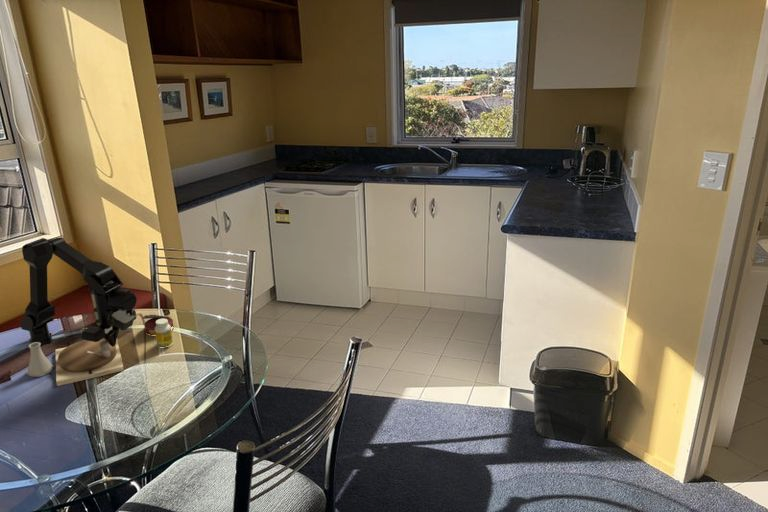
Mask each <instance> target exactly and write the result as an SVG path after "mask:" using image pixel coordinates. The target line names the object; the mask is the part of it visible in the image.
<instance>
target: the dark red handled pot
mask: <svg viewBox="0 0 768 512" xmlns="http://www.w3.org/2000/svg"><path fill="white" fill-rule="evenodd" d="M163 318H164V319H167V320H168V324H169V325H170V326H171V327H172V326H173V327H174V319H173V318H172V316H171V315H170V316H166V315H157V314H150V315H149V314H148V315H147V314H146V315H144V316H142V319H144V320H146V319H147V321H145V322H144V324H143V325H144V331H145V334H146V333H147V334H150V335H155V327H156V321H157V320H158V319H163ZM147 334H146V335H147Z"/></svg>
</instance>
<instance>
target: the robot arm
mask: <svg viewBox="0 0 768 512" xmlns="http://www.w3.org/2000/svg"><path fill="white" fill-rule="evenodd" d="M21 249H22V250H21V251H22V257H23V260H24V261H25V263H27V264H28V266H29V291H30V293H29V294H30V297H29V298H30V300H29V303H28V304H27V306H26V308H25V310H24V317H23V319H22V320H21V321H20V323H19V326H20V328H21V330H22V331H23V330H24V331H28V332H29V336H30V338H29V345H30V344H31V343H34V342H39V343H41V345H44V344H49V343H52V340H53V339H52V338H53V337H52V332H50V330H49V325H48V324H49V323H51V322H53V321H54V316H55V315H56V305H54V304H52V303H51V302H50V301H49V300H48V298H49V297H48V296H49V295H48V291H49V290H48V265H49V264H50V261H51V260H52V258H53V255H54V256H56V257H58V258H59V259H60V260H61V261H63V262H64V263H66V264H68V265H69V266H70V267H72V268H73V269H74V270H76V271H78V272H79V273H80V274H81V276H82V279H83V281H84V282H85V283H86V284H87V285H88V286H89V287H88V289H87V291H88V292H90V293H91V292H93V293H94V298H95V304H96V308H94V307H93V312H94V313H95V312H97V314H98V319H97V320H96V319H95V323H96V324H97V323H99V324H100V325H97V326H88V327H87V328H85V329H84V330H82V331H81V332H80V337H81V341H83V340H87V341H92V342H98V341H100V340H101V339H105V340H106V341H108V342H109V344H110V345H111V346H113V347H114V346H115V345H116V340H117V341H118V335H119V332H120V331H126V330H128V328H130V327H132V326H133V324H134V321H135V320H136V319H137V313H136V309H134V308H135V307H136V305H137V301H138V300H137V296H136V295H135V293H133V292H131V290H130V288H122V286H124V283H123V281H121V280H122V279H121V277H119V276H118V275H117V274H116V272H115V271H114V270H113V268H112V267H111V266H109V265H107V264H105V263H103V262H100V261H96V260H92V259H90V258H89V257H87V255H84V254H83V253H82V252H80V251H79V250H77V249H76V248H74V247H73V246H71V245H70V244H69V243H67V242H66V240H65V238H63V237H54V238H50V239H47V238H44V237H41V238H39V239H37V240H33V241H31V242H28V243H26V244H24V245H23V246H22V248H21ZM110 282H112V284H110V285H109V286H104V285H106V284H108V283H110ZM119 330H120V331H119Z"/></svg>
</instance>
